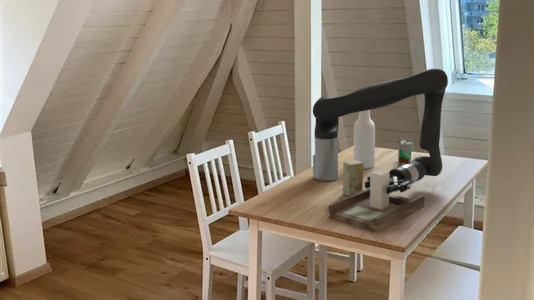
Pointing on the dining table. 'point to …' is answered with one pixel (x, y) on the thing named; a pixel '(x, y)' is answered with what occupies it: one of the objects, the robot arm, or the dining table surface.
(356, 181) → the skincare box
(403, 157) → the food container
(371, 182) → the block
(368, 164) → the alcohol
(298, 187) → the dining table surface
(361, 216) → the channel
